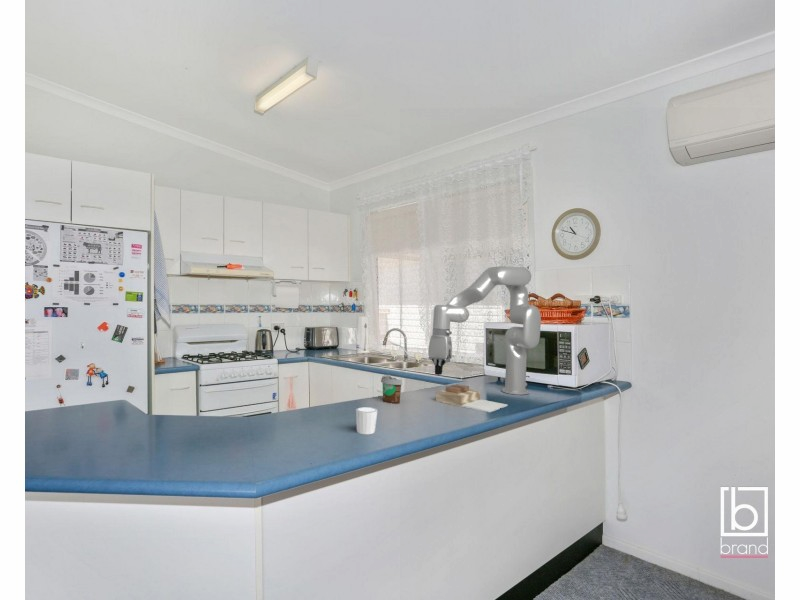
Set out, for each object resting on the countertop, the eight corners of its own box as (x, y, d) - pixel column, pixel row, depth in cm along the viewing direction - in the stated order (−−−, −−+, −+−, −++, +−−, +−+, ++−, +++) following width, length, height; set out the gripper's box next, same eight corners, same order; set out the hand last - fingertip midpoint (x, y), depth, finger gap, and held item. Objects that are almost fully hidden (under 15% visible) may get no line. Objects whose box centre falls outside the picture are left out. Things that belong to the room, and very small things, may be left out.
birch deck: (455, 395, 198) (456, 386, 198) (479, 400, 191) (479, 391, 191) (435, 401, 186) (436, 391, 186) (460, 406, 178) (460, 396, 178)
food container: (375, 398, 186) (376, 374, 186) (388, 397, 188) (389, 374, 188) (387, 405, 174) (388, 380, 174) (401, 404, 177) (402, 379, 177)
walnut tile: (456, 388, 194) (457, 384, 194) (468, 391, 190) (468, 386, 190) (445, 391, 187) (446, 386, 187) (457, 393, 183) (458, 389, 183)
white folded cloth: (480, 400, 190) (480, 399, 190) (507, 405, 183) (507, 404, 183) (461, 406, 178) (461, 405, 178) (489, 412, 170) (489, 411, 170)
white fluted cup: (379, 429, 141) (380, 408, 141) (372, 436, 134) (373, 413, 134) (359, 427, 143) (360, 405, 143) (351, 433, 136) (352, 410, 136)
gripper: (459, 334, 193) (457, 376, 193) (431, 331, 202) (429, 371, 202) (450, 334, 187) (448, 377, 187) (422, 331, 196) (419, 372, 196)
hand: (438, 374), depth 194 cm, fingers closed
